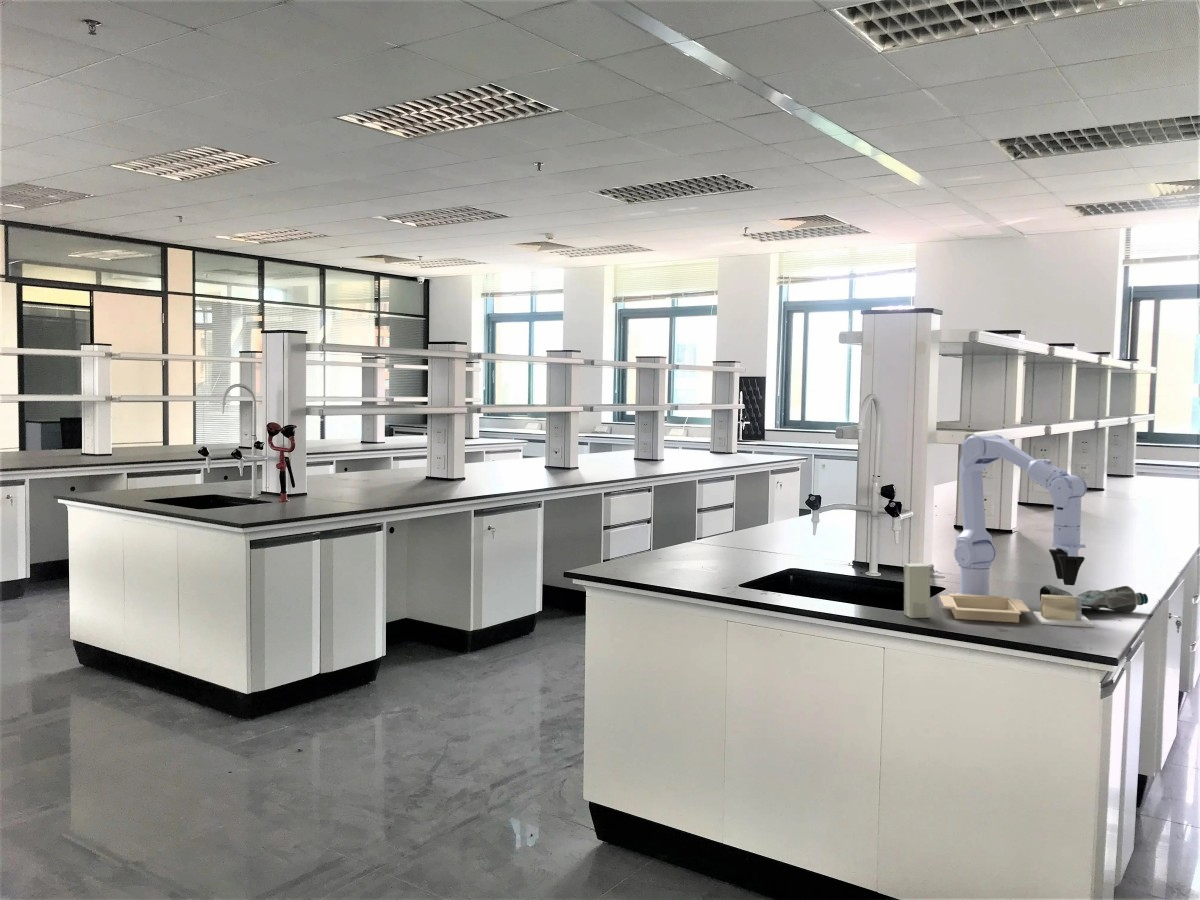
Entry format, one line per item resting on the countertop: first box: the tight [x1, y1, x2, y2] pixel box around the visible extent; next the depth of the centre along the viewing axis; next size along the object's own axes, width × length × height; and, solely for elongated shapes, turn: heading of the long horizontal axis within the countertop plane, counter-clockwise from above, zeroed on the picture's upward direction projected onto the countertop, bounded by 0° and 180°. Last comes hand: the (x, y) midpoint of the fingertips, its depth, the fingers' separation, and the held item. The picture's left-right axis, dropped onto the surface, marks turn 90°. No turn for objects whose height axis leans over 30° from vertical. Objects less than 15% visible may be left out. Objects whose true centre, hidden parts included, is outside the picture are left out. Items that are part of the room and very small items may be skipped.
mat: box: [1032, 610, 1095, 628], centre depth 214 cm, size 11×11×1 cm
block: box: [1040, 595, 1083, 621], centre depth 214 cm, size 4×8×5 cm, turn 74°
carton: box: [939, 593, 1031, 623], centre depth 220 cm, size 19×19×3 cm
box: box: [903, 562, 931, 619], centre depth 218 cm, size 5×4×13 cm
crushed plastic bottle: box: [1039, 584, 1149, 614], centre depth 222 cm, size 13×7×25 cm
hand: (1065, 581), depth 213 cm, fingers open, 7 cm apart
